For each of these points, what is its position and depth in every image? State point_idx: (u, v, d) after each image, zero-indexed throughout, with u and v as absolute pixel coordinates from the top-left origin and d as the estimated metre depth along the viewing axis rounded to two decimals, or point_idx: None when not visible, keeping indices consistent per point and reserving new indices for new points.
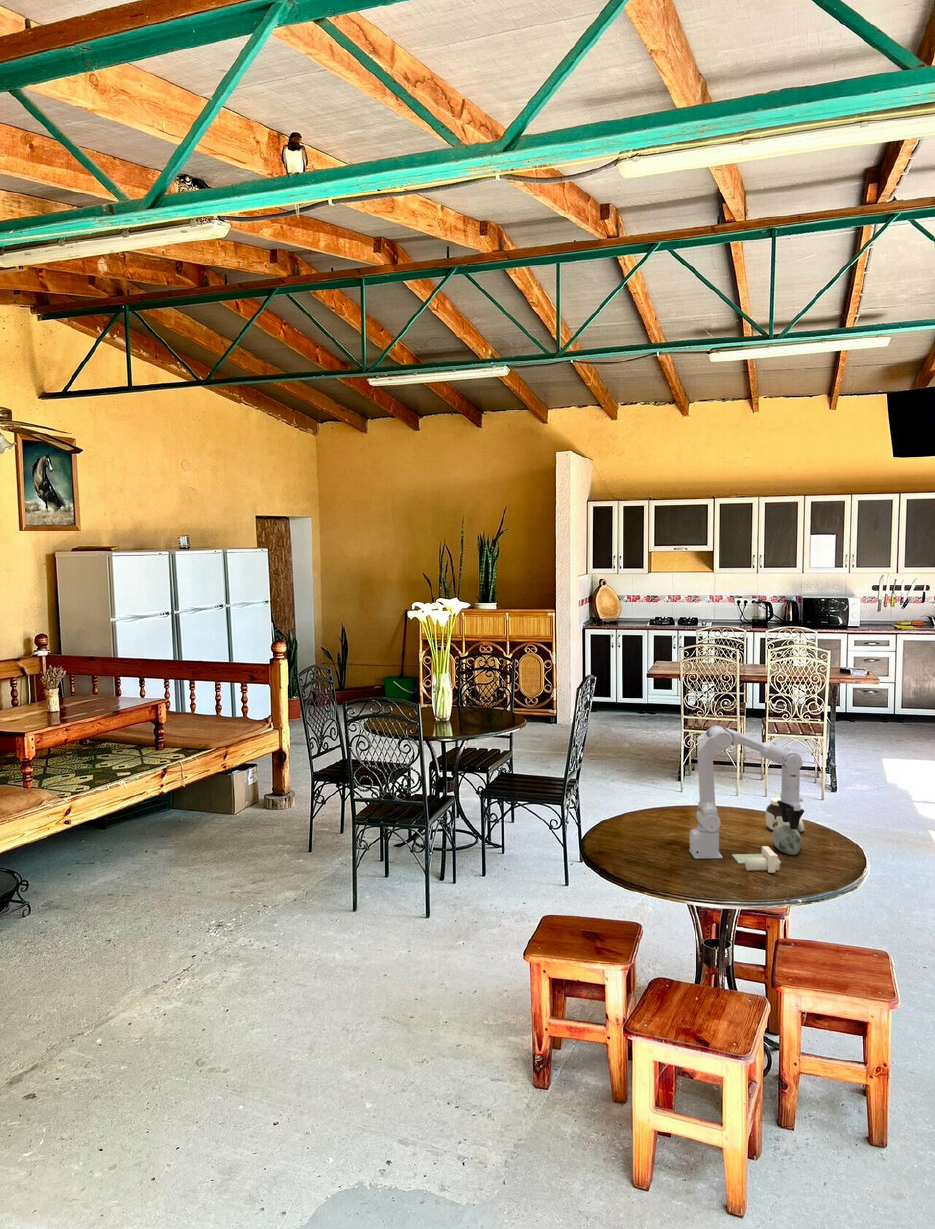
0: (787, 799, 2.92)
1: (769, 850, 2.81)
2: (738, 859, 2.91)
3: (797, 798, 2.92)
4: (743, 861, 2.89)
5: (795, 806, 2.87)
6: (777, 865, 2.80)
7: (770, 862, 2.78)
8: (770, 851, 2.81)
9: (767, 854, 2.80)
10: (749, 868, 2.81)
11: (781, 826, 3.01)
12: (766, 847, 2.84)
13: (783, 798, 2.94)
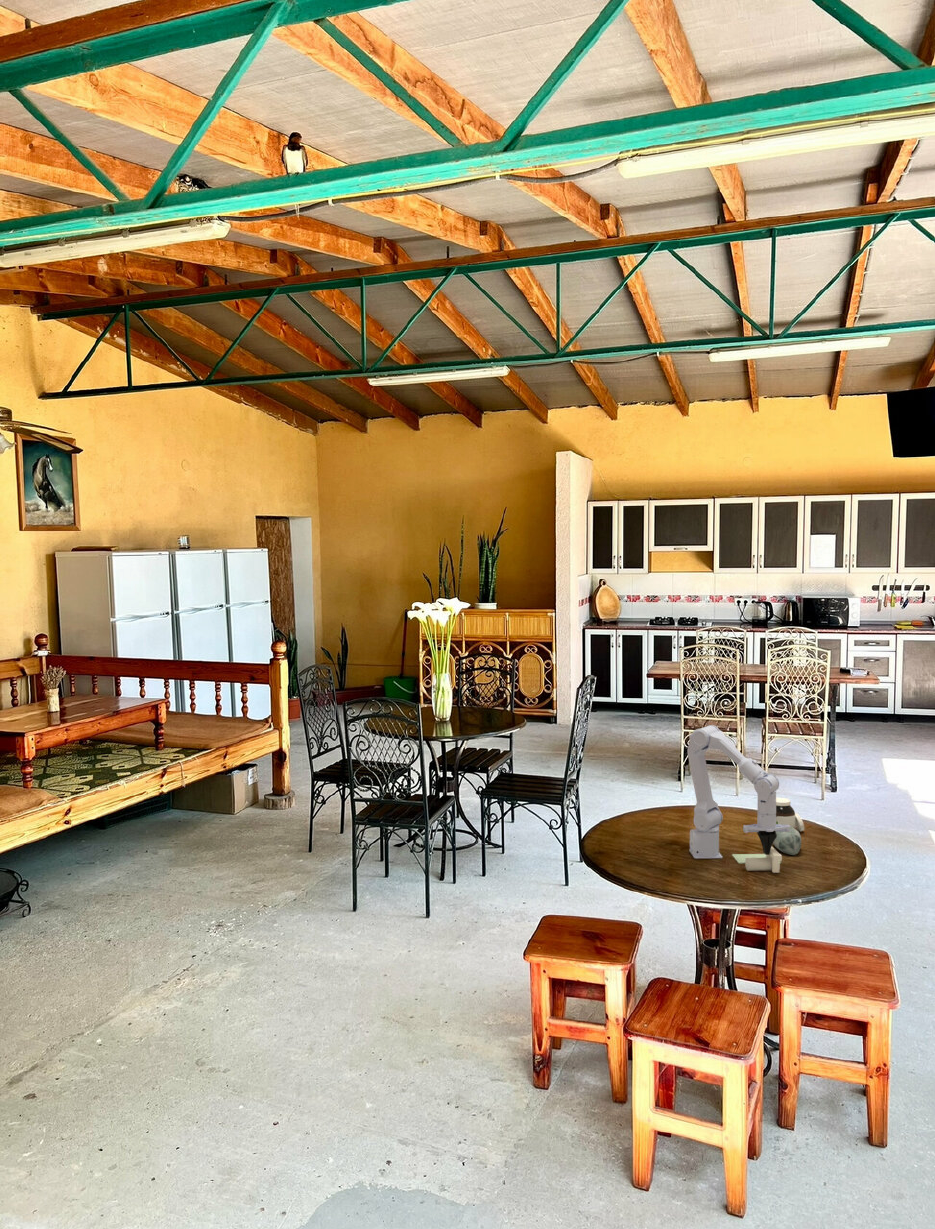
0: None
1: (773, 850, 2.81)
2: (738, 859, 2.91)
3: (761, 825, 2.80)
4: (743, 861, 2.89)
5: (743, 826, 2.82)
6: None
7: (774, 862, 2.78)
8: (774, 851, 2.81)
9: (771, 854, 2.80)
10: (749, 868, 2.81)
11: None
12: None
13: None
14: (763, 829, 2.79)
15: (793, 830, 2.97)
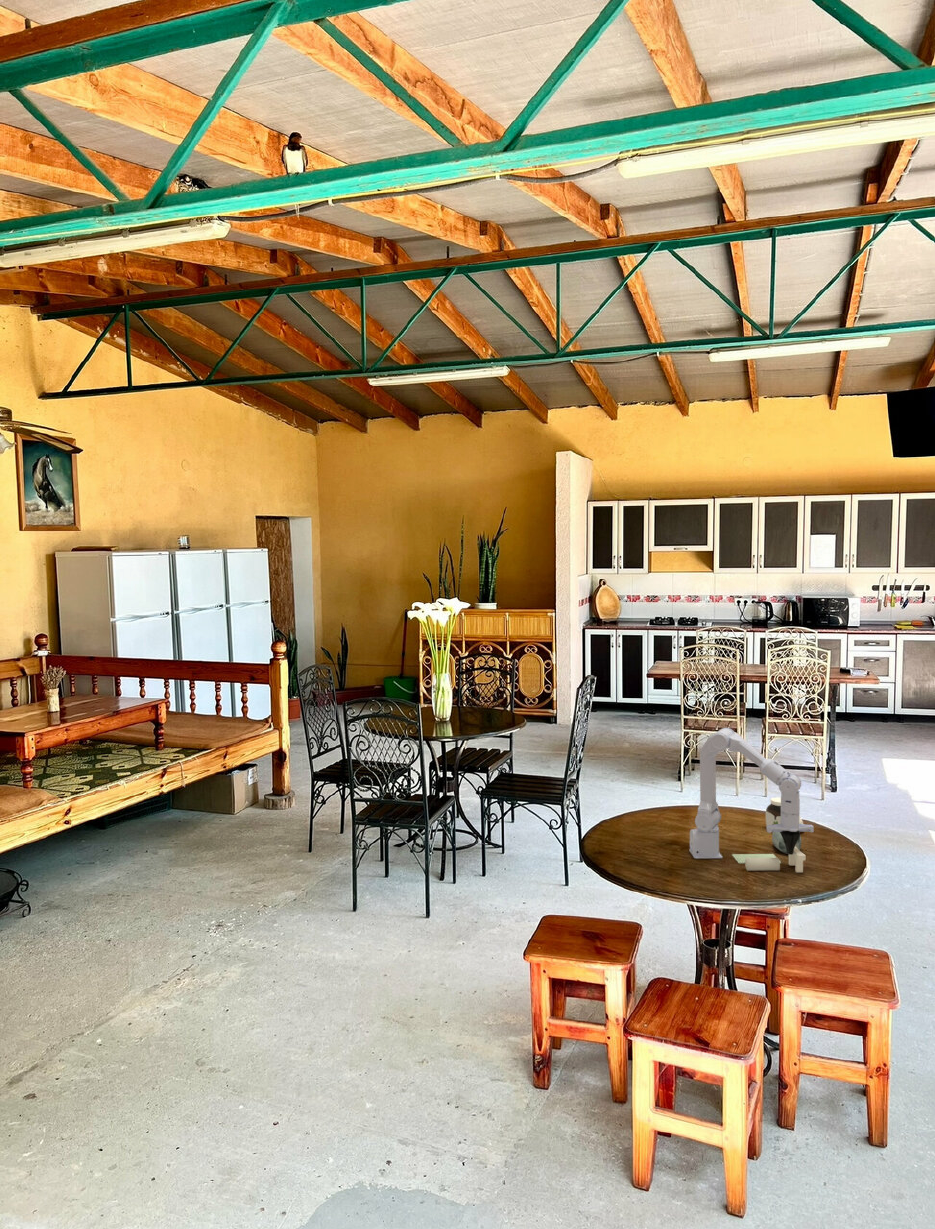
0: None
1: (796, 850, 2.81)
2: (738, 859, 2.91)
3: (784, 824, 2.80)
4: (743, 861, 2.89)
5: None
6: (777, 866, 2.80)
7: (798, 862, 2.78)
8: (797, 851, 2.80)
9: (795, 854, 2.80)
10: (749, 869, 2.81)
11: None
12: None
13: None
14: (787, 829, 2.79)
15: None
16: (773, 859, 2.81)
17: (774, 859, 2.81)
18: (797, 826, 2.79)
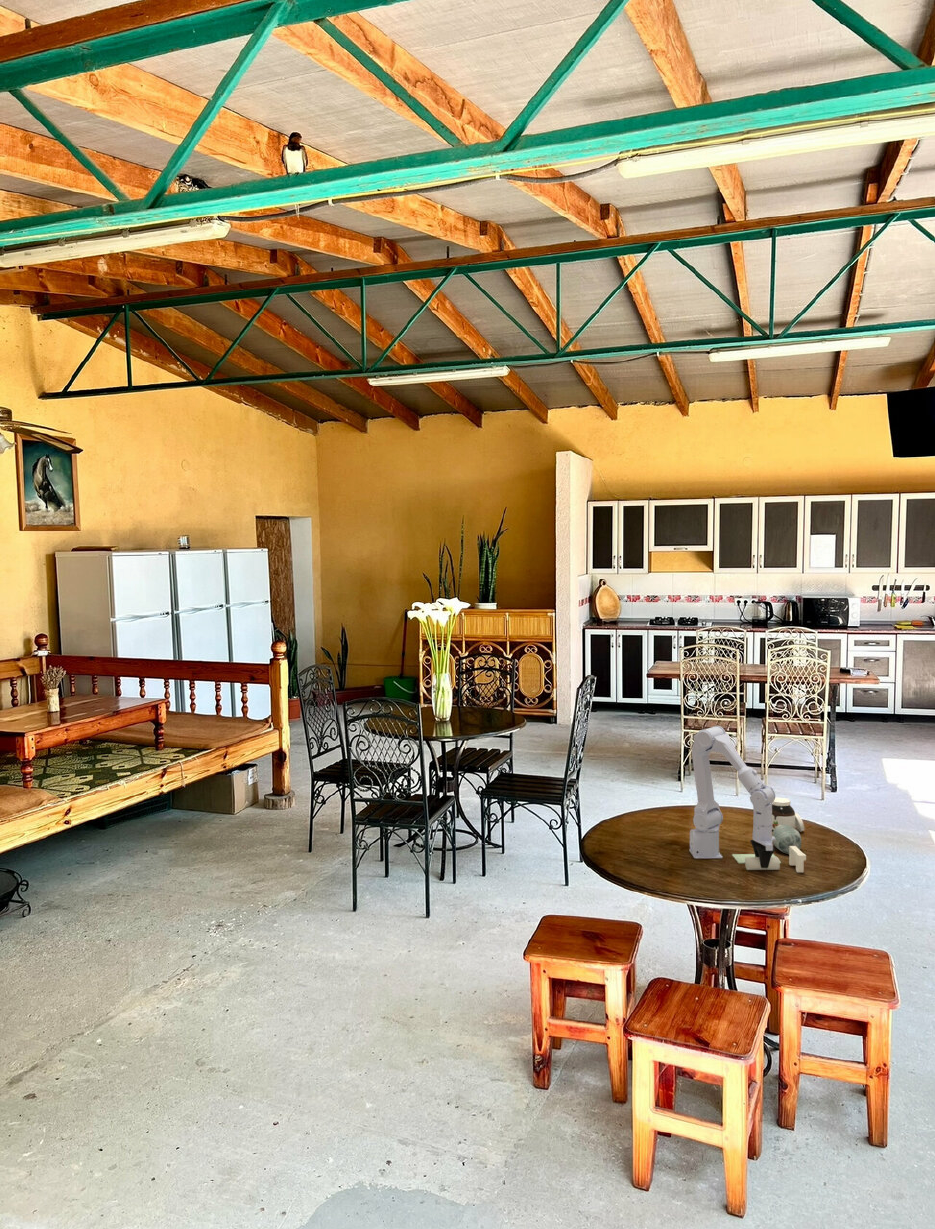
0: (759, 838, 2.79)
1: (797, 850, 2.81)
2: (738, 859, 2.91)
3: (769, 837, 2.79)
4: (743, 861, 2.89)
5: (767, 846, 2.75)
6: (777, 864, 2.80)
7: (798, 862, 2.78)
8: (798, 851, 2.80)
9: (795, 854, 2.80)
10: (749, 867, 2.81)
11: (781, 826, 3.01)
12: (794, 847, 2.84)
13: (755, 837, 2.81)
14: (772, 840, 2.80)
15: (793, 830, 2.97)
16: (773, 858, 2.82)
17: (774, 858, 2.81)
18: None
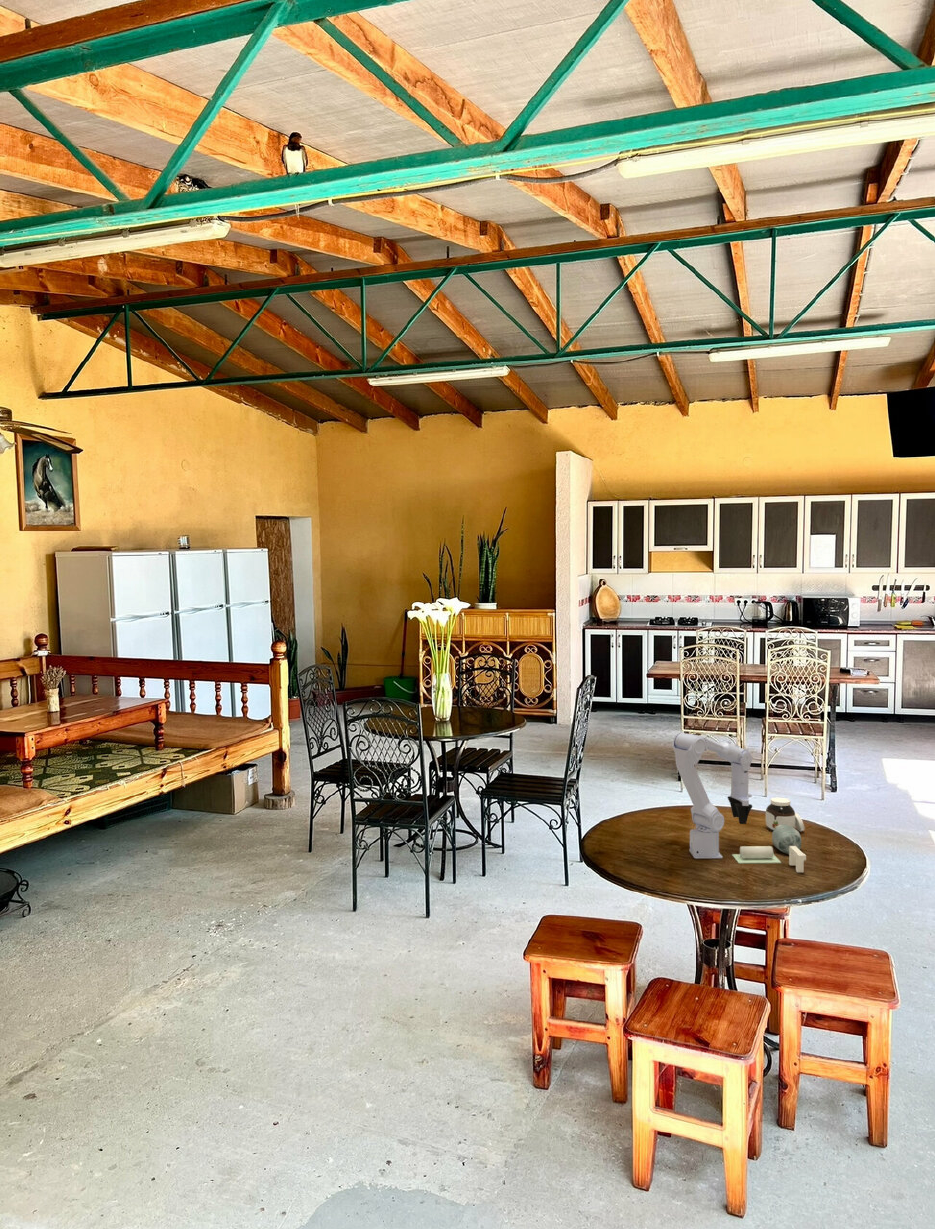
0: (736, 795, 3.01)
1: (797, 850, 2.81)
2: (738, 859, 2.91)
3: (746, 794, 3.01)
4: (743, 861, 2.89)
5: (743, 801, 2.96)
6: (771, 853, 2.90)
7: (798, 862, 2.78)
8: (798, 851, 2.80)
9: (795, 854, 2.80)
10: (744, 856, 2.90)
11: (781, 826, 3.01)
12: (794, 847, 2.84)
13: (732, 794, 3.02)
14: (748, 796, 3.01)
15: (793, 830, 2.97)
16: (767, 847, 2.91)
17: (767, 847, 2.91)
18: None
